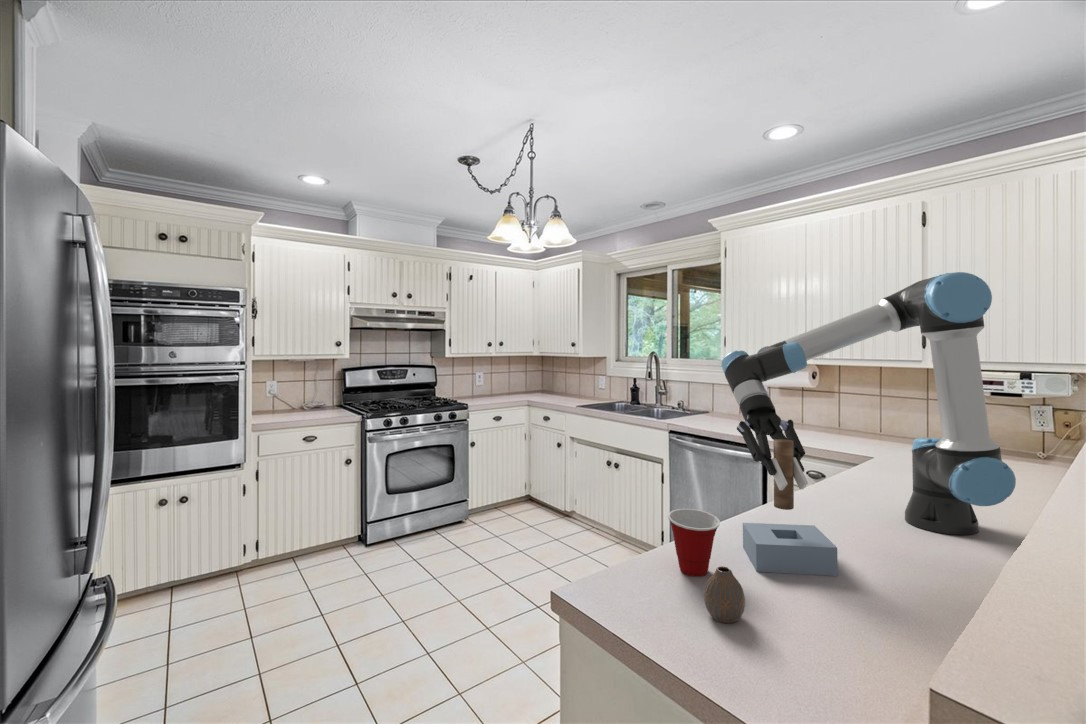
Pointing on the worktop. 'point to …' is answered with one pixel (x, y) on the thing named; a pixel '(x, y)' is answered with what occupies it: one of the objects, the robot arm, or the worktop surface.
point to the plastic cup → (693, 539)
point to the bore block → (789, 549)
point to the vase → (724, 596)
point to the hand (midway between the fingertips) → (793, 486)
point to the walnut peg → (786, 463)
